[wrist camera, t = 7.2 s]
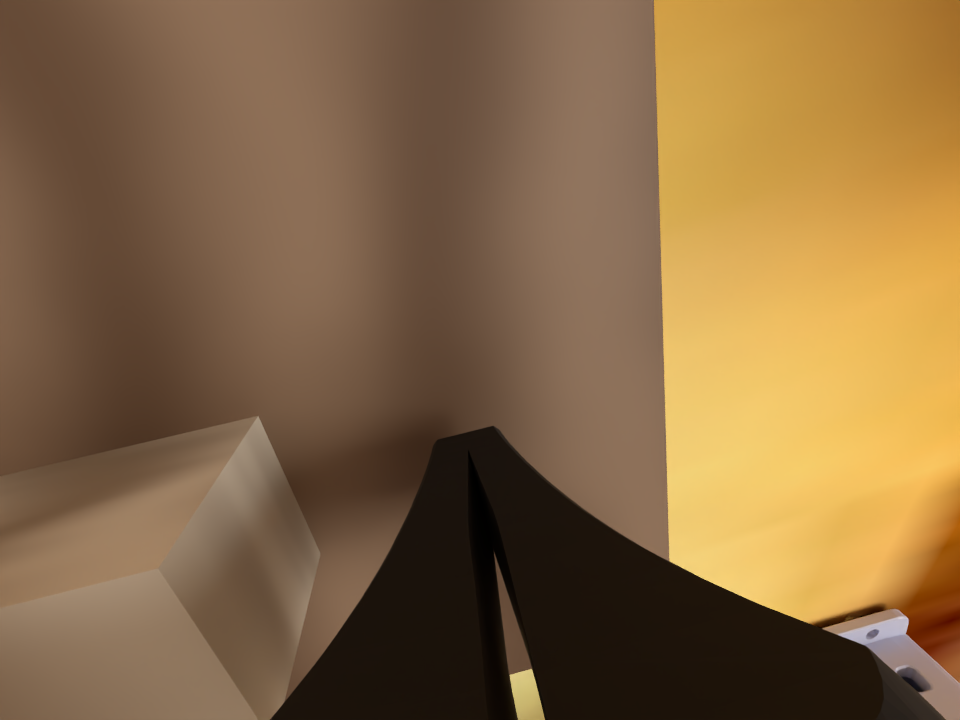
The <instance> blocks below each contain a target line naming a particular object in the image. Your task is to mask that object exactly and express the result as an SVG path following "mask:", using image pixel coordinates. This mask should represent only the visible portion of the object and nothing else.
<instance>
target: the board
mask: <svg viewBox="0 0 960 720" xmlns="http://www.w3.org/2000/svg"><path fill="white" fill-rule="evenodd" d="M256 416H258V417H259V419H260V421H261V423H262V425H263V428H264V430H265V432H266V434H267V436H268V439H269V441H270V443H271V445H272V447H273V450H274V452H275V454H276V456H277V459H278V461H279V463H280V465H281V467H282V470H283V472H284V474H285V476H286V478H287V481H288V483H289V485H290V487H291V489H292V492H293V494H294V496H295V498H296V500H297V503H298V505H299V507H300V509H301V512H302V514H303V516H304V518H305V520H306V523H307V525H308V527H309V529H310V531H311V534H312V536H313V538H314V540H315V542H316V545H317V547H318V549H319V551H320V559H319V563H318V567H317V571H316V575H315V579H314V583H313V587H312V591H311V595H310V599H309V603H308V607H307V612H306V616H305V620H304V624H303V628H302V632H301V636H300V640H299V644H298V648H297V652H296V656H295V660H294V664H293V669H292V673H291V677H290V681H289V685H288V689H287V693H286V697H285V701H286V699H287V698H288V697H289V696H290V694H291V693H292V692H293V691H294V689H295V688H296V687H297V686H298V684H299V683H300V682H301V681H302V679H303V678H304V677H305V676H306V674H307V673H308V672H309V671H310V669H311V668H312V667H313V666H314V664H315V663H316V662H317V661H318V659H319V658H320V657H321V655H322V654H323V653H324V651H325V650H326V648H327V647H328V646H329V644H330V643H331V642H332V640H333V639H334V637H335V636H336V635H337V633H338V632H339V630H340V629H341V627H342V626H343V624H344V623H345V621H346V620H347V618H348V617H349V616H350V614H351V613H352V611H353V610H354V608H355V607H356V605H357V604H358V602H359V601H360V599H361V598H362V596H363V595H364V593H365V591H366V590H367V588H368V587H369V585H370V583H371V582H372V580H373V578H374V577H375V575H376V574H377V572H378V570H379V568H380V567H381V565H382V563H383V561H384V560H385V558H386V556H387V554H388V552H389V551H390V549H391V547H392V545H393V543H394V541H395V539H396V537H397V535H398V533H399V531H400V529H401V527H402V525H403V523H404V521H405V519H406V517H407V515H408V513H409V510H410V508H411V506H412V503H413V501H414V499H415V496H416V494H417V491H418V489H419V487H420V484H421V482H422V479H423V476H424V474H425V471H426V468H427V465H428V462H429V459H430V456H431V452H432V448H433V445H434V444H435V442H436V441H437V440H438V439H442V438H446V437H450V436H454V435H458V434H462V433H466V432H470V431H474V430H478V429H482V428H486V427H490V426H495V427H496V428H498V429H499V430H500V431H501V433H502V434H503V435H504V437H505V438H506V439H507V440H508V442H509V443H510V444H511V445H512V446H513V447H514V448H515V449H516V450H517V451H518V453H519V454H520V455H521V456H522V457H523V458H524V459H525V460H526V461H527V462H528V463H529V464H530V465H532V466H533V467H534V468H535V469H536V470H537V471H538V472H539V473H540V474H541V475H542V476H544V477H545V478H546V479H547V480H548V481H549V482H550V483H552V484H553V485H554V486H555V487H556V488H557V489H559V490H560V491H561V492H562V493H564V494H565V495H566V496H568V497H569V498H570V499H571V500H573V501H574V502H575V503H576V504H578V505H579V506H581V507H582V508H583V509H585V510H586V511H587V512H589V513H590V514H592V515H593V516H594V517H596V518H597V519H599V520H600V521H602V522H603V523H605V524H606V525H608V526H609V527H611V528H612V529H614V530H616V531H617V532H619V533H620V534H622V535H624V536H625V537H627V538H629V539H630V540H632V541H634V542H635V543H637V544H638V545H640V546H642V547H643V548H645V549H647V550H649V551H650V552H652V553H654V554H656V555H658V556H660V557H662V558H664V559H666V560H668V561H669V537H668V501H667V465H666V428H665V392H664V356H663V320H662V284H661V248H660V212H659V175H658V139H657V103H656V67H655V31H654V0H0V476H4V475H8V474H13V473H17V472H21V471H25V470H30V469H34V468H38V467H42V466H47V465H51V464H55V463H59V462H64V461H68V460H72V459H77V458H81V457H85V456H89V455H94V454H98V453H102V452H106V451H111V450H115V449H119V448H123V447H128V446H132V445H136V444H140V443H145V442H149V441H153V440H158V439H162V438H166V437H170V436H175V435H179V434H183V433H187V432H192V431H196V430H200V429H204V428H209V427H213V426H217V425H222V424H226V423H230V422H234V421H239V420H243V419H247V418H251V417H256ZM494 557H495V565H496V573H497V581H498V589H499V597H500V606H501V614H502V622H503V630H504V639H505V647H506V655H507V663H508V669H509V675H510V674H514V673H518V672H521V671H525V670H528V669H532V667H531V663H530V660H529V656H528V653H527V650H526V647H525V644H524V641H523V638H522V635H521V632H520V629H519V626H518V623H517V620H516V617H515V614H514V611H513V608H512V605H511V602H510V599H509V596H508V593H507V590H506V587H505V584H504V581H503V578H502V575H501V572H500V568H499V565H498V562H497V559H496V556H495V553H494ZM285 701H284V702H285Z"/></svg>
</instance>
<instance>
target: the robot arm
mask: <svg viewBox="0 0 960 720" xmlns="http://www.w3.org/2000/svg"><path fill="white" fill-rule="evenodd" d="M494 553H495V556H496V559H497V562H498V565H499V568H500V572H501V575H502V578H503V581H504V584H505V587H506V590H507V593H508V596H509V599H510V602H511V605H512V608H513V611H514V614H515V617H516V620H517V623H518V626H519V629H520V632H521V635H522V638H523V641H524V644H525V647H526V650H527V653H528V656H529V660H530V663H531V667H532V670H533V674H534V677H535V680H536V684H537V688H538V692H539V696H540V700H541V704H542V708H543V713H544V717H545V720H960V683H959V682H957V681H956V680H955V679H954V678H953V677H952V676H951V675H950V674H949V673H948V672H947V671H945V670H944V669H943V668H942V667H941V666H940V665H939V664H938V663H937V662H936V661H935V660H933V659H932V658H931V657H930V656H929V655H928V654H927V653H926V652H925V651H924V650H923V649H922V648H920V647H919V646H918V645H917V644H916V643H915V642H914V641H913V640H912V639H911V638H910V637H908V636H907V635H906V631H907V627H908V618H907V617H906V616H905V615H903V614H902V613H901V612H900V611H899V610H897V609H888V610H885V611H881V612H878V613H874V614H871V615H867V616H864V617H860V618H857V619H853V620H849V621H846V622H842V623H839V624H835V625H832V626H828V627H825V628H819V627H816V626H814V625H811V624H808V623H806V622H803V621H801V620H798V619H796V618H793V617H790V616H788V615H785V614H783V613H780V612H777V611H775V610H772V609H770V608H767V607H765V606H762V605H760V604H757V603H755V602H753V601H750V600H748V599H746V598H744V597H742V596H739V595H737V594H735V593H733V592H731V591H728V590H726V589H724V588H722V587H720V586H717V585H715V584H713V583H711V582H709V581H706V580H704V579H702V578H700V577H698V576H696V575H694V574H693V573H691V572H689V571H687V570H685V569H683V568H681V567H679V566H677V565H675V564H673V563H671V562H670V561H668V560H666V559H664V558H662V557H660V556H658V555H656V554H654V553H652V552H650V551H649V550H647V549H645V548H643V547H642V546H640V545H638V544H637V543H635V542H634V541H632V540H630V539H629V538H627V537H625V536H624V535H622V534H620V533H619V532H617V531H616V530H614V529H612V528H611V527H609V526H608V525H606V524H605V523H603V522H602V521H600V520H599V519H597V518H596V517H594V516H593V515H592V514H590V513H589V512H587V511H586V510H585V509H583V508H582V507H581V506H579V505H578V504H576V503H575V502H574V501H573V500H571V499H570V498H569V497H568V496H566V495H565V494H564V493H562V492H561V491H560V490H559V489H557V488H556V487H555V486H554V485H553V484H552V483H550V482H549V481H548V480H547V479H546V478H545V477H544V476H542V475H541V474H540V473H539V472H538V471H537V470H536V469H535V468H534V467H533V466H532V465H530V464H529V463H528V462H527V461H526V460H525V459H524V458H523V457H522V456H521V455H520V454H519V453H518V451H517V450H516V449H515V448H514V447H513V446H512V445H511V444H510V443H509V442H508V440H507V439H506V438H505V437H504V435H503V434H502V433H501V431H500V430H499V429H498V428H496V427H495V426H490V427H486V428H482V429H478V430H474V431H470V432H466V433H462V434H458V435H454V436H450V437H446V438H442V439H438V440H437V441H436V442H435V444H434V445H433V448H432V452H431V456H430V459H429V462H428V465H427V468H426V471H425V474H424V476H423V479H422V482H421V484H420V487H419V489H418V491H417V494H416V496H415V499H414V501H413V503H412V506H411V508H410V510H409V513H408V515H407V517H406V519H405V521H404V523H403V525H402V527H401V529H400V531H399V533H398V535H397V537H396V539H395V541H394V543H393V545H392V547H391V549H390V551H389V552H388V554H387V556H386V558H385V560H384V561H383V563H382V565H381V567H380V568H379V570H378V572H377V574H376V575H375V577H374V578H373V580H372V582H371V583H370V585H369V587H368V588H367V590H366V591H365V593H364V595H363V596H362V598H361V599H360V601H359V602H358V604H357V605H356V607H355V608H354V610H353V611H352V613H351V614H350V616H349V617H348V618H347V620H346V621H345V623H344V624H343V626H342V627H341V629H340V630H339V632H338V633H337V635H336V636H335V637H334V639H333V640H332V642H331V643H330V644H329V646H328V647H327V648H326V650H325V651H324V653H323V654H322V655H321V657H320V658H319V659H318V661H317V662H316V663H315V664H314V666H313V667H312V668H311V669H310V671H309V672H308V673H307V674H306V676H305V677H304V678H303V679H302V681H301V682H300V683H299V684H298V686H297V687H296V688H295V689H294V691H293V692H292V693H291V694H290V696H289V697H288V698H287V699H286V701H285V702H284V703H283V704H282V706H281V707H280V708H279V709H278V711H277V712H276V713H275V714H274V715H273V717H272V718H271V719H270V720H518V718H517V713H516V709H515V704H514V699H513V694H512V688H511V682H510V676H509V669H508V663H507V655H506V647H505V639H504V630H503V622H502V614H501V606H500V597H499V589H498V581H497V573H496V565H495V557H494Z"/></svg>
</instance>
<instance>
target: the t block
mask: <svg viewBox="0 0 960 720" xmlns="http://www.w3.org/2000/svg"><path fill="white" fill-rule="evenodd" d="M319 559H320V551H319V549H318V547H317V545H316V542H315V540H314V538H313V536H312V534H311V531H310V529H309V527H308V525H307V523H306V520H305V518H304V516H303V514H302V512H301V509H300V507H299V505H298V503H297V500H296V498H295V496H294V494H293V492H292V489H291V487H290V485H289V483H288V481H287V478H286V476H285V474H284V472H283V470H282V467H281V465H280V463H279V461H278V459H277V456H276V454H275V452H274V450H273V447H272V445H271V443H270V441H269V439H268V436H267V434H266V432H265V430H264V428H263V425H262V423H261V421H260V419H259V417H258V416H256V417H251V418H247V419H243V420H239V421H234V422H230V423H226V424H222V425H217V426H213V427H209V428H204V429H200V430H196V431H192V432H187V433H183V434H179V435H175V436H170V437H166V438H162V439H158V440H153V441H149V442H145V443H140V444H136V445H132V446H128V447H123V448H119V449H115V450H111V451H106V452H102V453H98V454H94V455H89V456H85V457H81V458H77V459H72V460H68V461H64V462H59V463H55V464H51V465H47V466H42V467H38V468H34V469H30V470H25V471H21V472H17V473H13V474H8V475H4V476H0V720H270V719H271V718H272V717H273V715H274V714H275V713H276V712H277V711H278V709H279V708H280V707H281V706H282V704H283V703H284V701H285V697H286V693H287V689H288V685H289V681H290V677H291V673H292V669H293V664H294V660H295V656H296V652H297V648H298V644H299V640H300V636H301V632H302V628H303V624H304V620H305V616H306V612H307V607H308V603H309V599H310V595H311V591H312V587H313V583H314V579H315V575H316V571H317V567H318V563H319Z"/></svg>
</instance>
